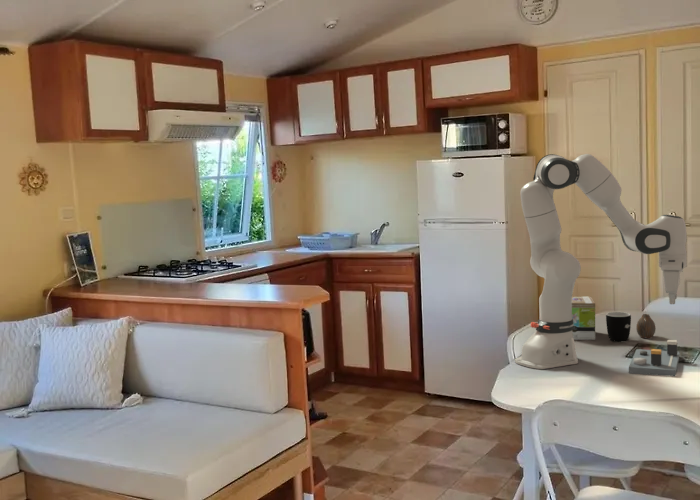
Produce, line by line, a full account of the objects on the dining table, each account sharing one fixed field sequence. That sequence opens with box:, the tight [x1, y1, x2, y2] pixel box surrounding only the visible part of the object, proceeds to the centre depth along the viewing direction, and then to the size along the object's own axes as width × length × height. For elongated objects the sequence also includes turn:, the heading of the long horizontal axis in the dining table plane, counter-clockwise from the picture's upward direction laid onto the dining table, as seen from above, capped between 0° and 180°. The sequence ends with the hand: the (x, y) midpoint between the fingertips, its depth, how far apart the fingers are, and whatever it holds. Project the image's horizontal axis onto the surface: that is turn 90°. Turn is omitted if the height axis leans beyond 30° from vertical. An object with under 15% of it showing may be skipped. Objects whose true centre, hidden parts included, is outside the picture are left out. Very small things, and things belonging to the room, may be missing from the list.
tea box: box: [572, 296, 596, 341], centre depth 300 cm, size 15×10×15 cm, turn 168°
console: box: [628, 348, 681, 377], centre depth 255 cm, size 24×14×4 cm, turn 154°
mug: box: [605, 311, 632, 343], centre depth 291 cm, size 12×9×10 cm
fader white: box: [666, 339, 678, 355], centre depth 259 cm, size 2×3×4 cm
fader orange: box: [650, 348, 663, 365], centre depth 248 cm, size 2×3×4 cm
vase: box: [636, 313, 656, 339], centre depth 293 cm, size 7×7×9 cm
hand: (673, 301), depth 262 cm, fingers open, 7 cm apart
